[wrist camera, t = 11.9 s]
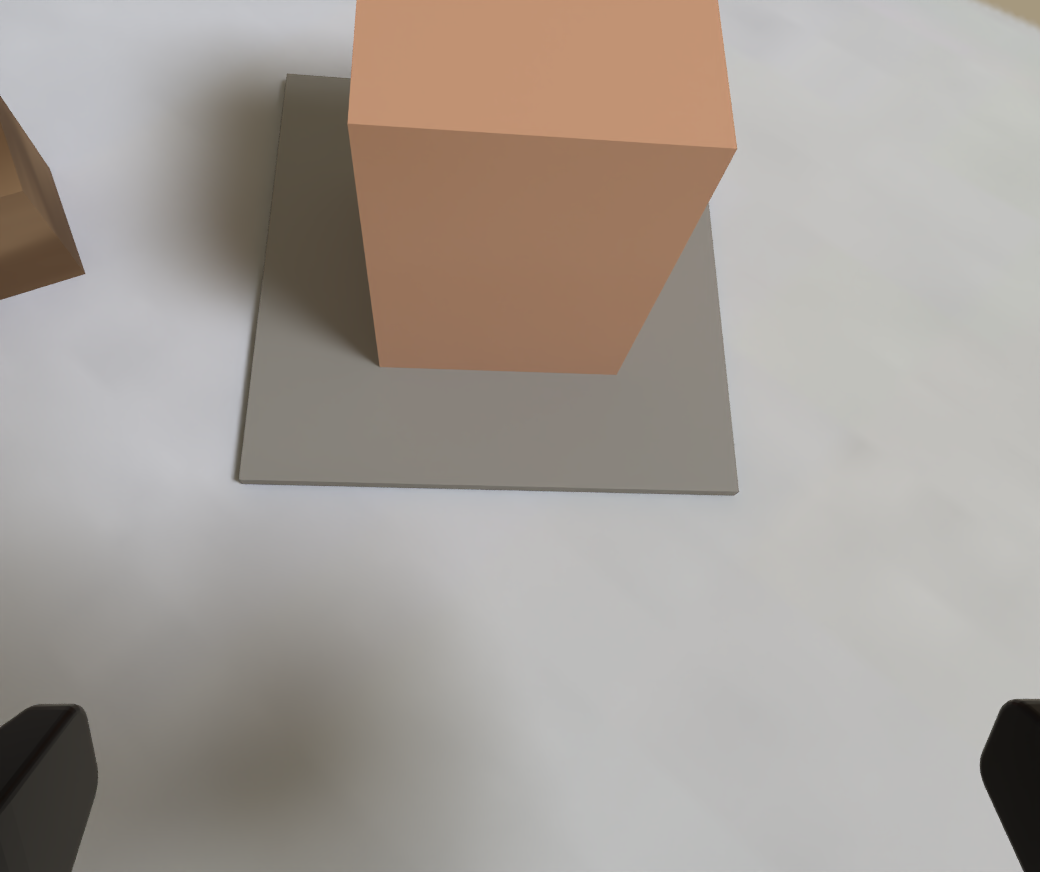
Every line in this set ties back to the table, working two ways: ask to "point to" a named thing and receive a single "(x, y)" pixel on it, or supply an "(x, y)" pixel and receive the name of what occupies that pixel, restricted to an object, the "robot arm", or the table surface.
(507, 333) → the tan cardboard box
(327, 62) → the table surface
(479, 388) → the rubber mat
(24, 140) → the letter cube
